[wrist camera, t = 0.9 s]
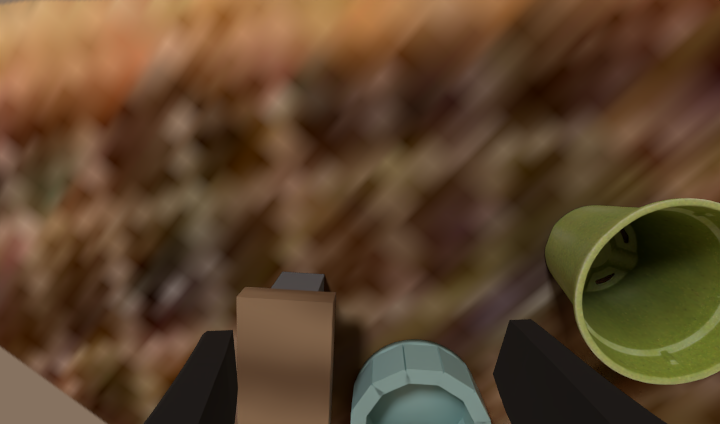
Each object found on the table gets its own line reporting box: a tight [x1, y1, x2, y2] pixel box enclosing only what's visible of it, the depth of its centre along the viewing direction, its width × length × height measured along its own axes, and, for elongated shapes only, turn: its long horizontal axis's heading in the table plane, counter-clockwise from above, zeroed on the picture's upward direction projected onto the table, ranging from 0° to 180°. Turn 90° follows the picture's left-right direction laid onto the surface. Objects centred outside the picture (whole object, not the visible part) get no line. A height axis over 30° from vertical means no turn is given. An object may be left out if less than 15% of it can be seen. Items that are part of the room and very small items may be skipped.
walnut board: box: [237, 287, 336, 424], centre depth 26 cm, size 11×6×2 cm, turn 177°
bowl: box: [351, 340, 491, 424], centre depth 29 cm, size 9×9×4 cm
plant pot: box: [545, 198, 720, 385], centre depth 25 cm, size 9×9×9 cm
